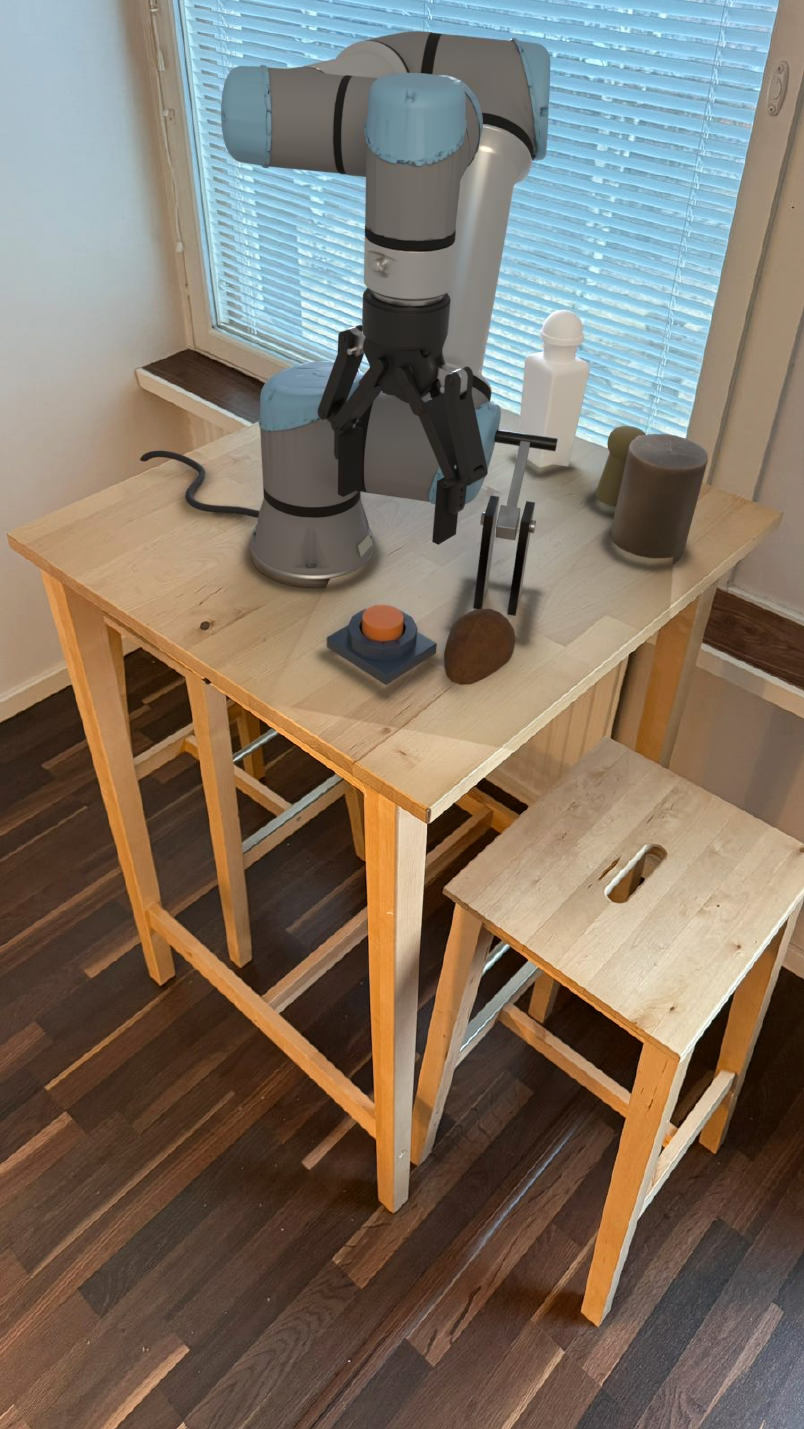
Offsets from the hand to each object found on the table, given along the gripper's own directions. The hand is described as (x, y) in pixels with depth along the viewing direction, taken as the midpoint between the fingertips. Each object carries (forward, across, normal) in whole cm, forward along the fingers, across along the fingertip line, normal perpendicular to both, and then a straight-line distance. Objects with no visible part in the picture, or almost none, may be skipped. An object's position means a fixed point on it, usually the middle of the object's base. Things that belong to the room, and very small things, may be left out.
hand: (395, 514), depth 101 cm
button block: (+18, 0, -1) cm, 18 cm away
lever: (+5, +1, +20) cm, 21 cm away
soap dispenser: (+19, -14, +50) cm, 55 cm away
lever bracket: (+18, +3, +16) cm, 24 cm away
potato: (+18, +8, +5) cm, 21 cm away
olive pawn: (+19, 0, +47) cm, 51 cm away
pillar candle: (+18, +9, +41) cm, 46 cm away
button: (+14, 0, -1) cm, 14 cm away
